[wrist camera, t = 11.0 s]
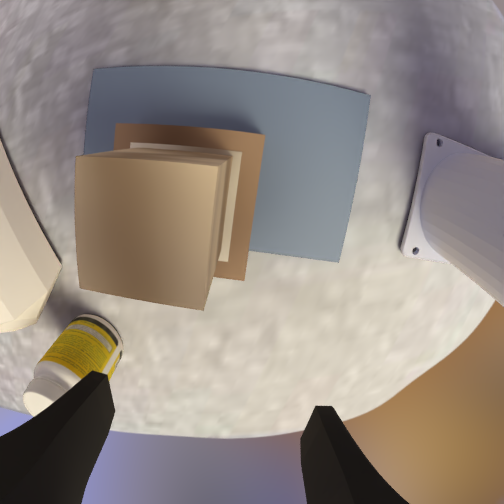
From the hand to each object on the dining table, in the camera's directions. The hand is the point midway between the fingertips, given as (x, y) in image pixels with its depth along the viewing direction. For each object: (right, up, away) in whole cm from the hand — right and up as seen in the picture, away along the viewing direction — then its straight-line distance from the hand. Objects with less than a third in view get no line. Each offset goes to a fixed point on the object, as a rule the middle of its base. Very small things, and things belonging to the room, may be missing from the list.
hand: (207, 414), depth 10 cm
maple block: (-2, +8, +4) cm, 9 cm away
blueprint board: (-1, +11, +7) cm, 13 cm away
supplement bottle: (-10, -1, +12) cm, 16 cm away
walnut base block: (-2, +9, +7) cm, 12 cm away
